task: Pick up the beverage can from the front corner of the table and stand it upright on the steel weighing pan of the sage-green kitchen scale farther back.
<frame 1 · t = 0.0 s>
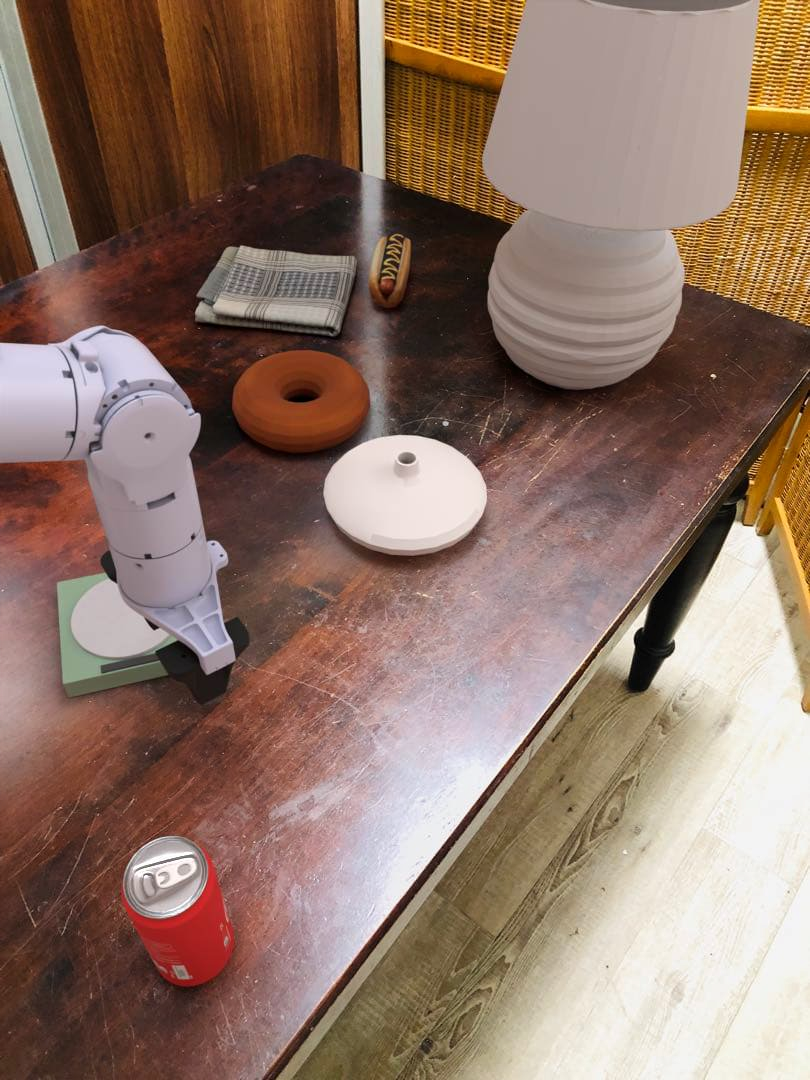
hand: (187, 657, 63), 9 cm above the table, tool pointing down, fingers open, 7 cm apart
hot dog: (389, 289, 115), on the table
scale: (131, 630, 76), on the table
table lamp: (568, 363, 105), on the table
vase: (404, 513, 87), on the table
donut: (302, 419, 96), on the table
beverage can: (196, 950, 58), on the table
dish towel: (279, 297, 113), on the table
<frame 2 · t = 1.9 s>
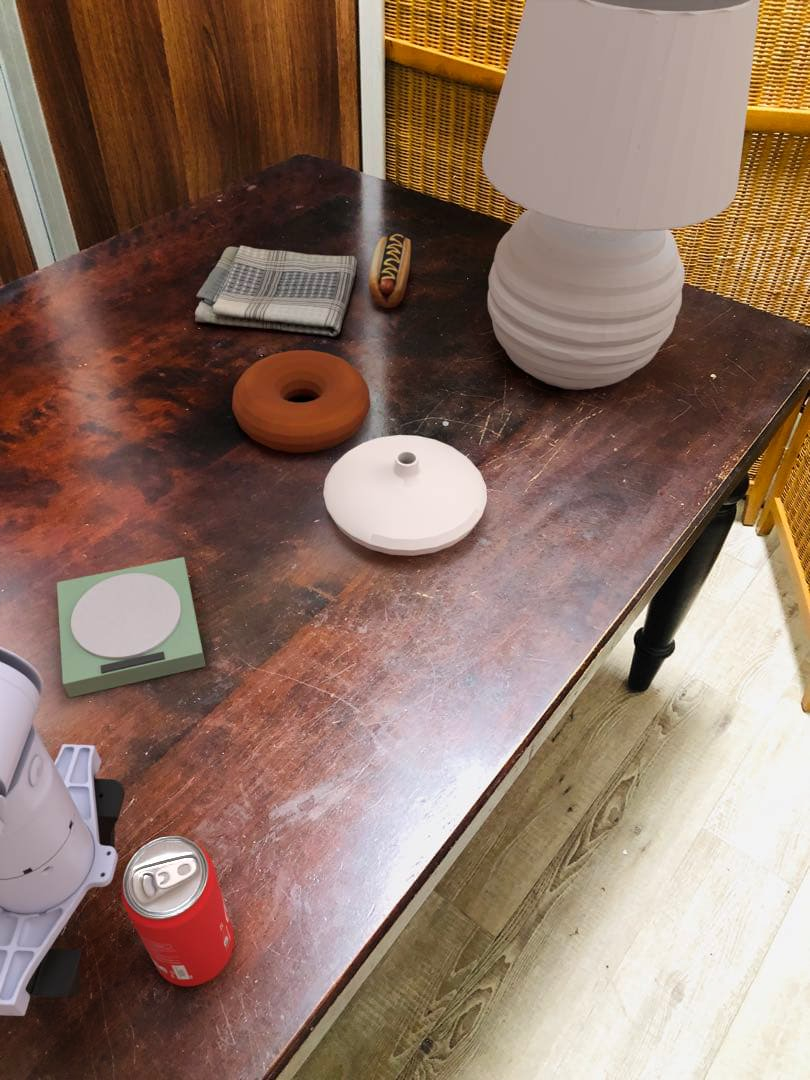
hand: (80, 922, 55), 4 cm above the table, tool pointing down, fingers open, 7 cm apart
nothing on the table moved.
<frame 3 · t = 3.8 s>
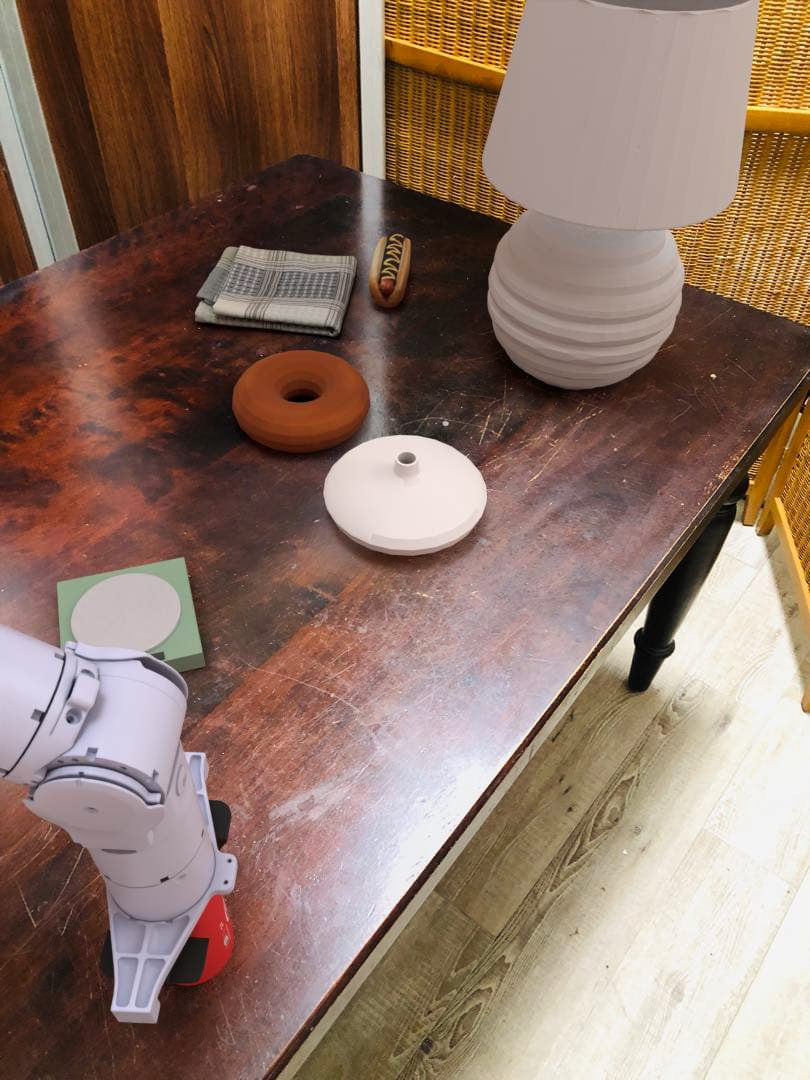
hand: (187, 928, 55), 4 cm above the table, tool pointing down, fingers closed on beverage can, 5 cm apart
beverage can: (196, 949, 58), on the table, touching gripper
everything else where it was.
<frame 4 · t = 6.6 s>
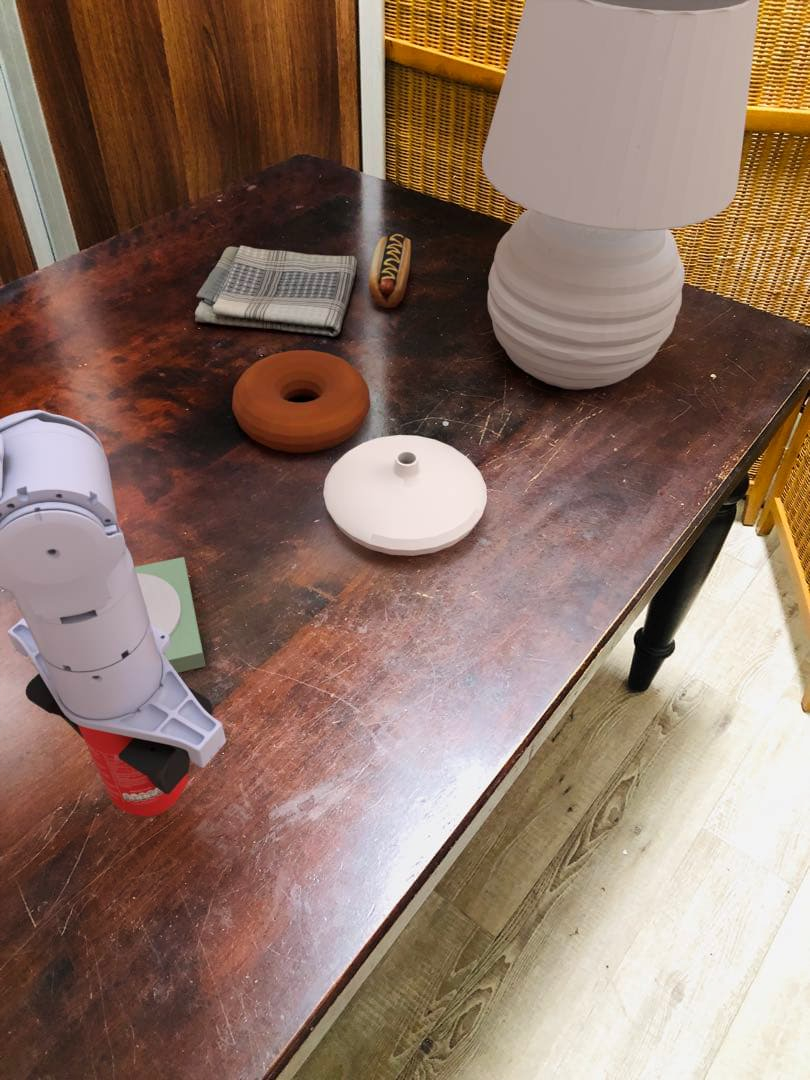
hand: (140, 758, 56), 10 cm above the table, tool pointing down, fingers closed on beverage can, 5 cm apart
beverage can: (151, 787, 59), point 6 cm above the table, touching gripper
everything else where it was.
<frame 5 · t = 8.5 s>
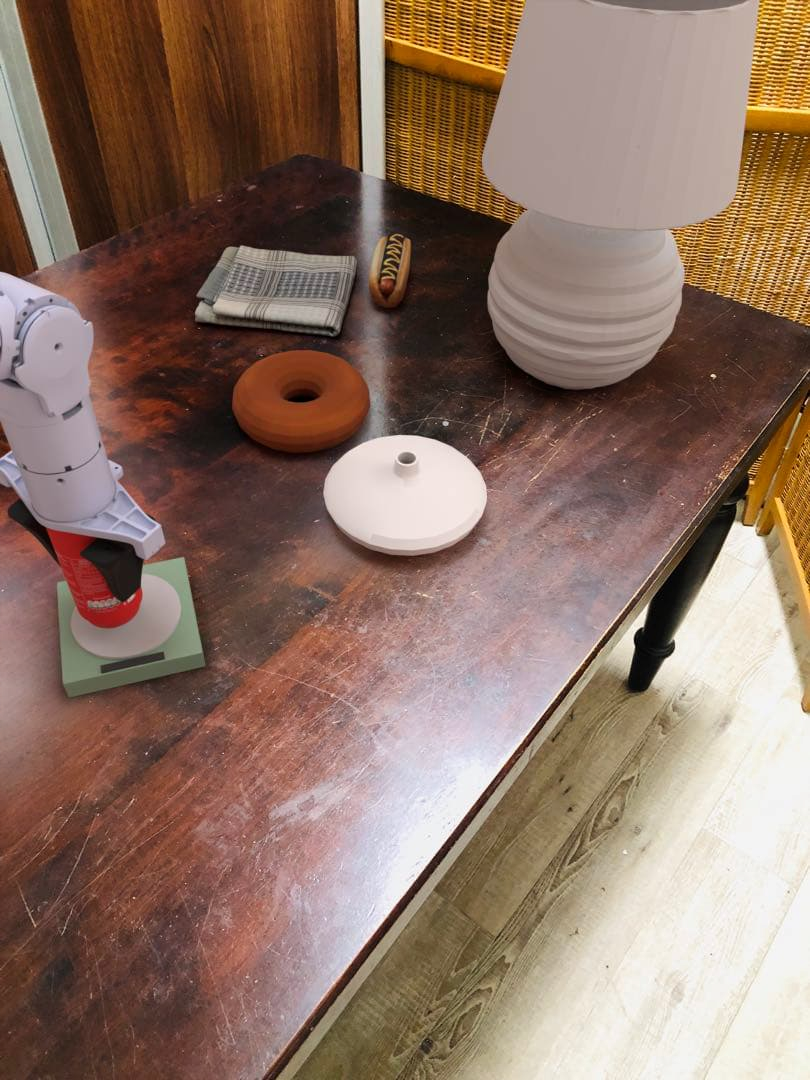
hand: (102, 578, 69), 8 cm above the table, tool pointing down, fingers closed on beverage can, 5 cm apart
beverage can: (113, 608, 72), point 4 cm above the table, touching gripper
everything else where it was.
when the fingers open (6 cm above the table, at t = 9.7 s): beverage can stays where it is, resting on scale.
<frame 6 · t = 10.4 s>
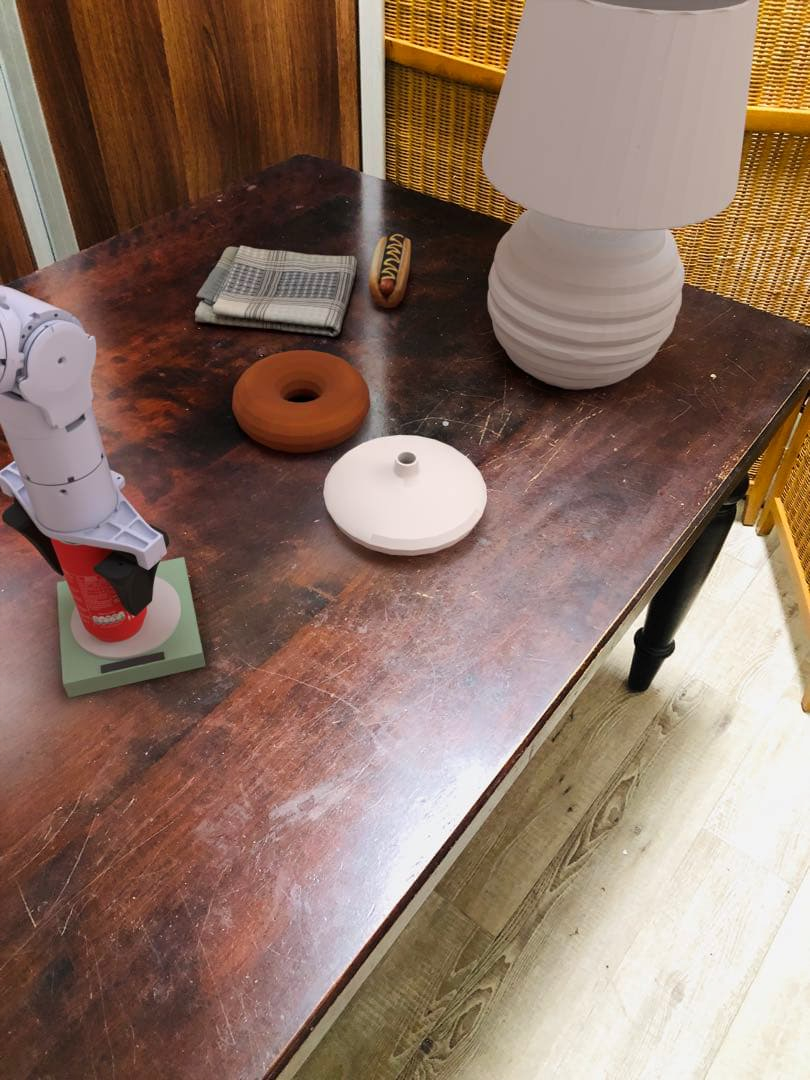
hand: (104, 586, 70), 7 cm above the table, tool pointing down, fingers open, 7 cm apart
beverage can: (118, 623, 74), point 2 cm above the table, touching scale
everything else where it was.
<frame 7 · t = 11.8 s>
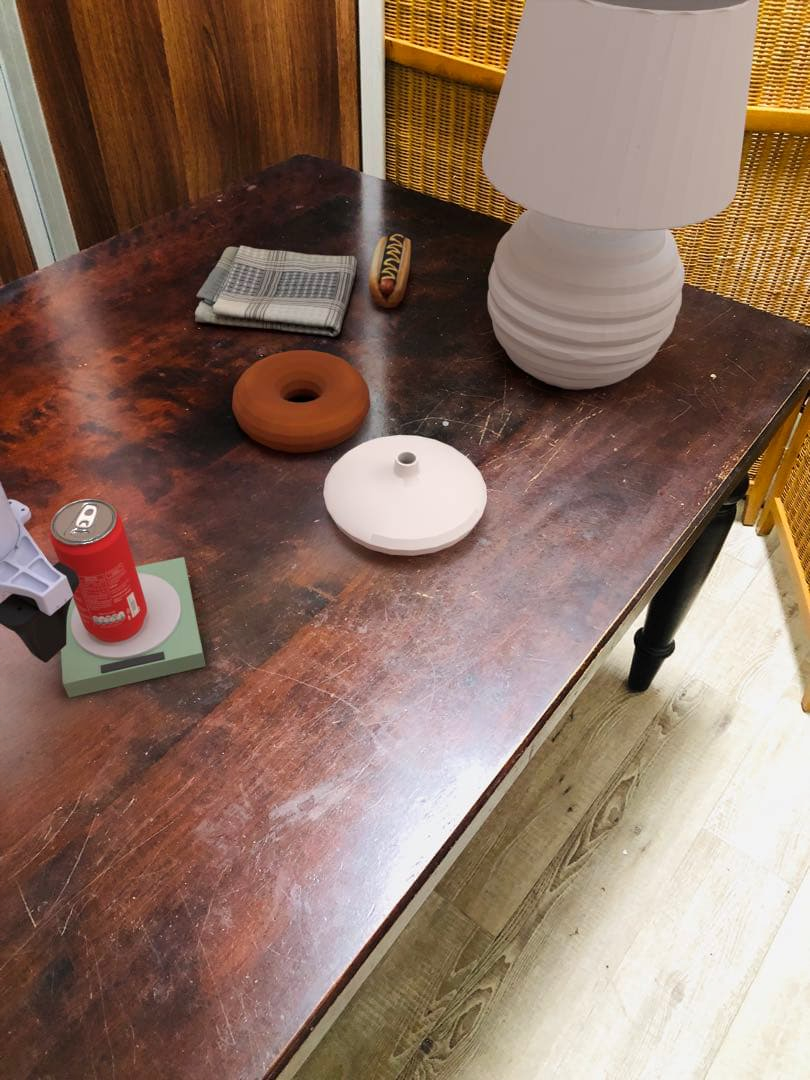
hand: (14, 627, 63), 10 cm above the table, tool pointing down, fingers open, 7 cm apart
nothing on the table moved.
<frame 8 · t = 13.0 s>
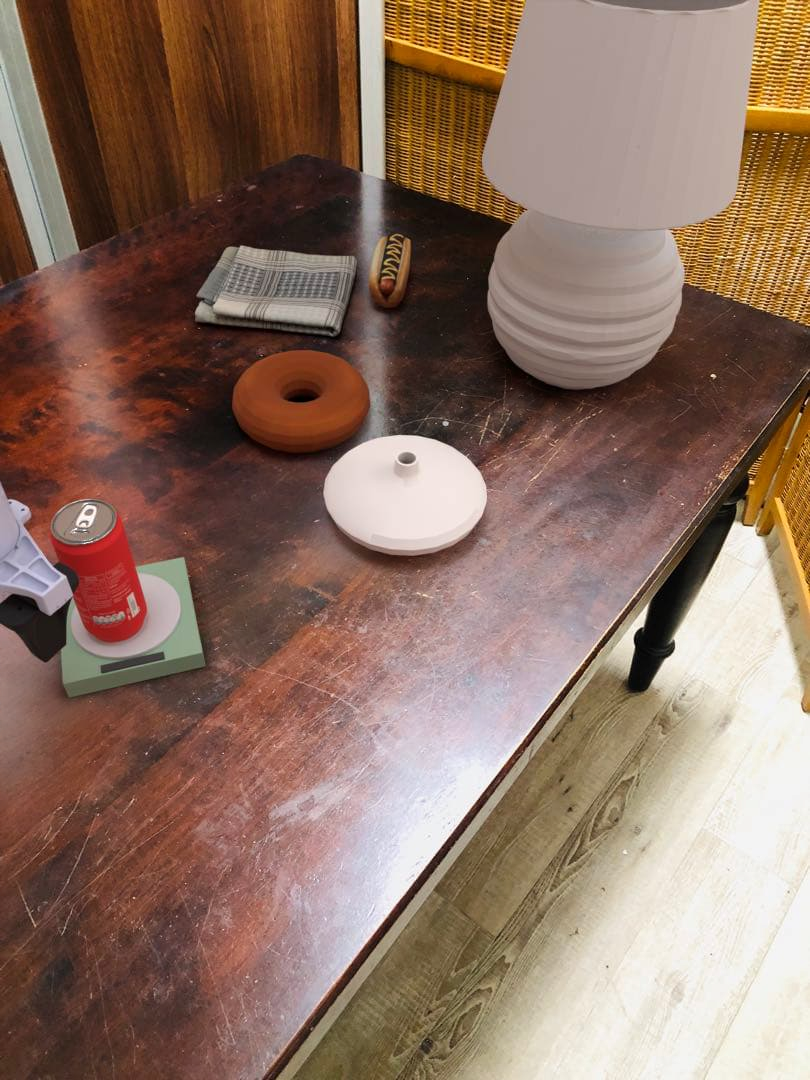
hand: (14, 627, 63), 10 cm above the table, tool pointing down, fingers open, 7 cm apart
nothing on the table moved.
at the end: beverage can 0.2 cm off-centre on the scale, point 2.2 cm above the scale's base; beverage can tilted 0°; the gripper is holding nothing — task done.
